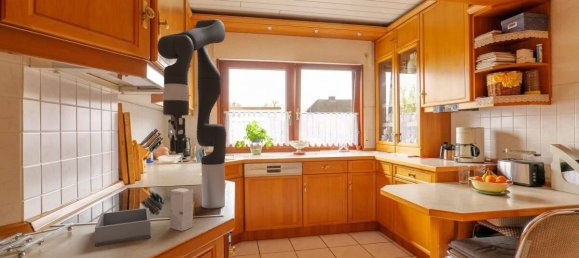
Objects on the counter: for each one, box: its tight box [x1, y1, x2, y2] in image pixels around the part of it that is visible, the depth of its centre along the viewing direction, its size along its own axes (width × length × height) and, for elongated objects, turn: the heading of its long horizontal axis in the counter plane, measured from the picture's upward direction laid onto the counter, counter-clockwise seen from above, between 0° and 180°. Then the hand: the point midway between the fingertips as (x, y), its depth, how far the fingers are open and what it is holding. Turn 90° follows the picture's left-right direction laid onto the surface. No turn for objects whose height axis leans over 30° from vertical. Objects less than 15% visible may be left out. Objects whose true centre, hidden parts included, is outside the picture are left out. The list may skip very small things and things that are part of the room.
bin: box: [94, 207, 152, 247], centre depth 90 cm, size 16×14×5 cm
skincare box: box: [169, 187, 194, 232], centre depth 95 cm, size 6×4×12 cm
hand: (176, 152), depth 92 cm, fingers open, 8 cm apart
